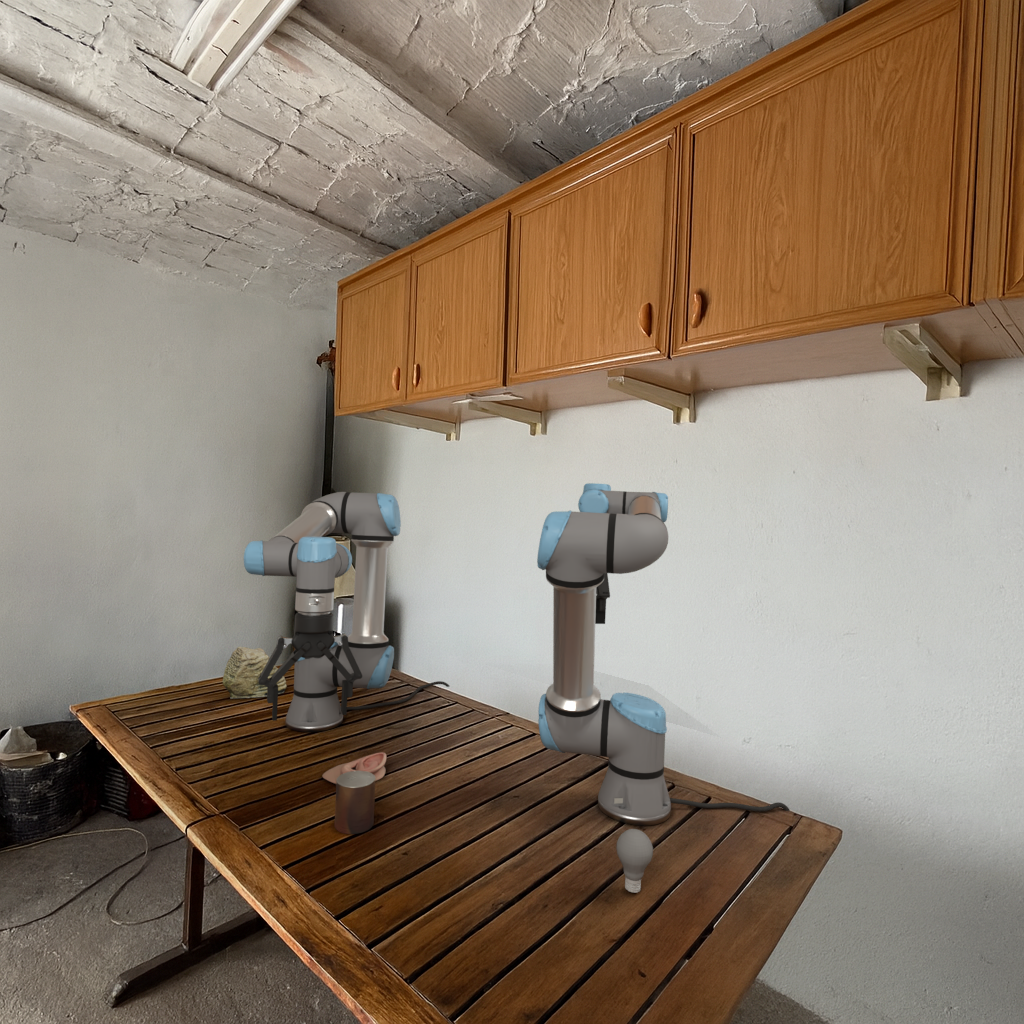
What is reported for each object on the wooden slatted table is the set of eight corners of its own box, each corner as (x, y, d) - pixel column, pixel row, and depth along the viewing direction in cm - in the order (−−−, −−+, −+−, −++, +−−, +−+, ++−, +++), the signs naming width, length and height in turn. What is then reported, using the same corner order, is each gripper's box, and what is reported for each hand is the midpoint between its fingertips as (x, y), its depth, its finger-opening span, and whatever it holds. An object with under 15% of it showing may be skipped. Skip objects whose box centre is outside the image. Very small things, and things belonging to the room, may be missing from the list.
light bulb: (610, 879, 108) (613, 822, 108) (644, 879, 109) (647, 822, 109) (619, 902, 102) (622, 840, 102) (655, 901, 103) (658, 840, 103)
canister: (361, 811, 129) (362, 767, 128) (381, 825, 123) (382, 780, 123) (327, 822, 123) (329, 777, 123) (346, 838, 118) (348, 791, 118)
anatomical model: (316, 763, 140) (340, 744, 151) (315, 781, 140) (339, 761, 151) (372, 771, 137) (392, 751, 149) (371, 789, 138) (391, 768, 149)
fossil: (218, 695, 195) (220, 647, 195) (278, 685, 208) (279, 640, 207) (228, 703, 189) (230, 653, 188) (289, 692, 201) (290, 645, 201)
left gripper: (248, 616, 121) (243, 727, 121) (378, 613, 131) (374, 716, 131) (248, 610, 128) (243, 715, 128) (372, 608, 138) (367, 705, 138)
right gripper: (568, 537, 183) (564, 610, 183) (596, 543, 158) (593, 628, 159) (593, 537, 184) (589, 610, 185) (625, 544, 160) (621, 628, 160)
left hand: (309, 715), depth 130 cm, fingers open, 13 cm apart
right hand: (591, 618), depth 172 cm, fingers open, 13 cm apart
